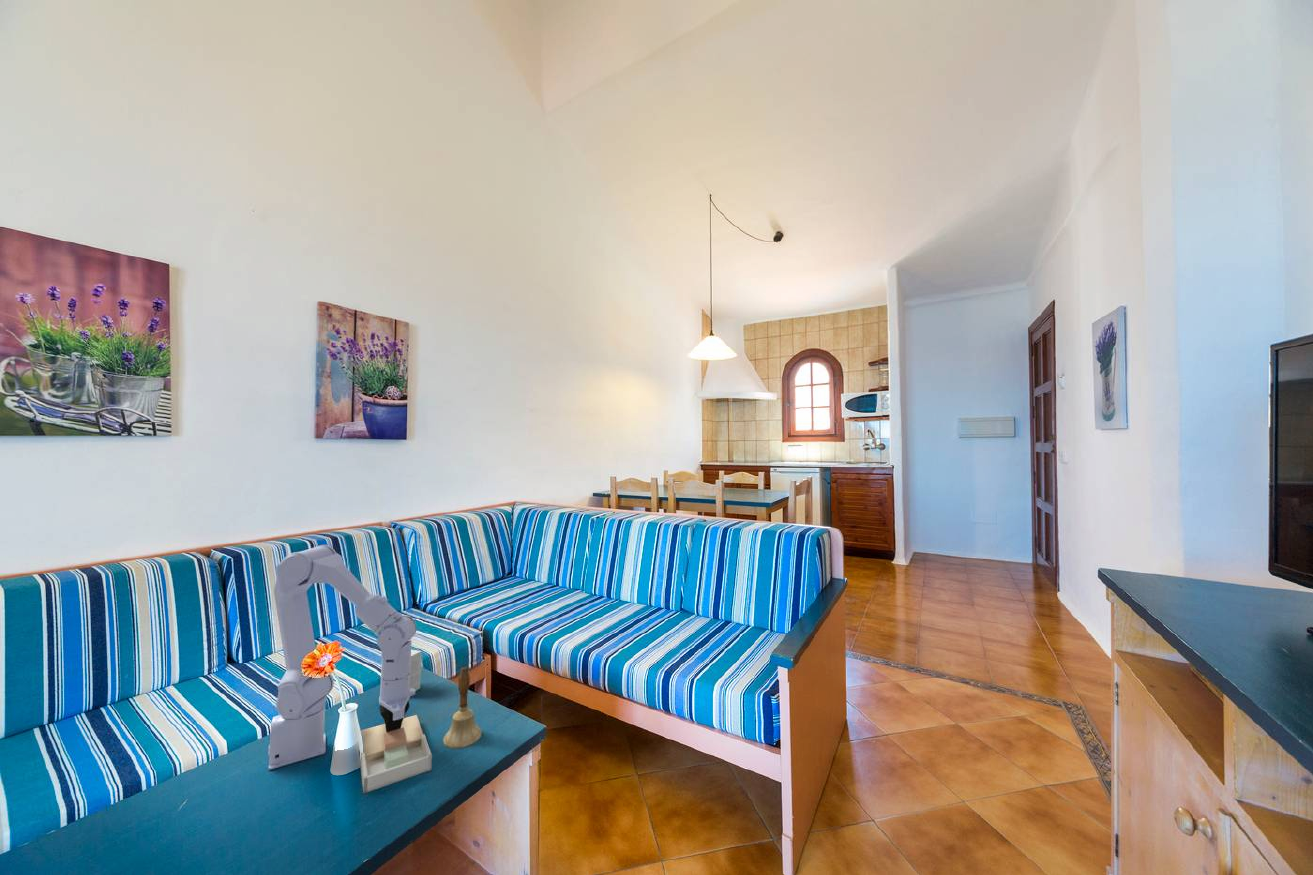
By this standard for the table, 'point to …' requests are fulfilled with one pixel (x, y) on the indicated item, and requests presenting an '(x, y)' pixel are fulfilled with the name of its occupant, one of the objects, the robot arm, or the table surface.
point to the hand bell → (462, 718)
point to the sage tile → (395, 757)
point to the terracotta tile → (394, 739)
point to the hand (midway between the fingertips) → (393, 737)
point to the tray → (395, 768)
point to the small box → (415, 669)
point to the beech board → (375, 734)
